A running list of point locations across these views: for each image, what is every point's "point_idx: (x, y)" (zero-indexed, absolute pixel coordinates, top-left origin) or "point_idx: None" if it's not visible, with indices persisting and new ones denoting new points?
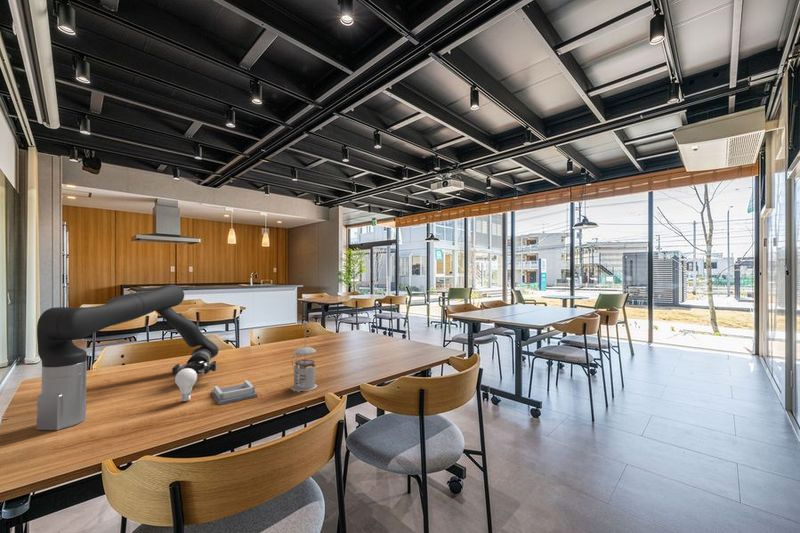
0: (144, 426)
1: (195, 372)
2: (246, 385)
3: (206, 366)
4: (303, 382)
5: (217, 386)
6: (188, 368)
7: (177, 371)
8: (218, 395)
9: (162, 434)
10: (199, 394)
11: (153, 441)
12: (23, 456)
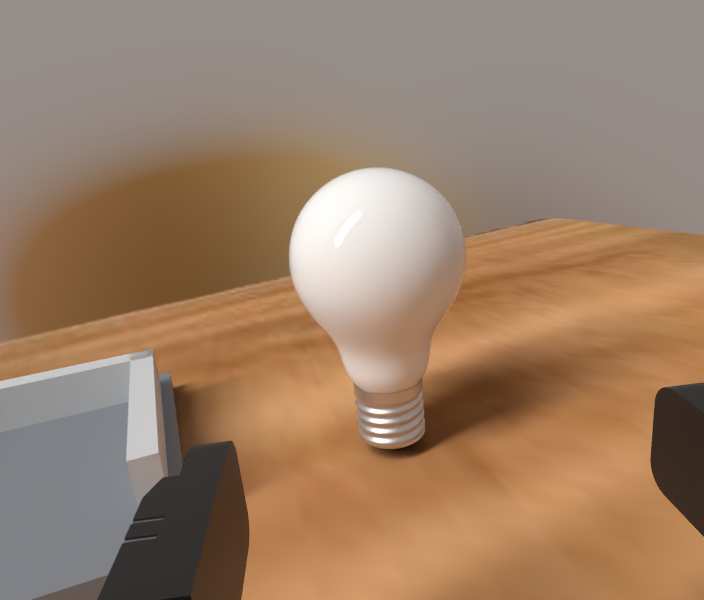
0: (460, 298)
1: (296, 220)
2: None
3: (168, 573)
4: None
5: (131, 443)
6: (352, 172)
7: (694, 384)
8: (158, 389)
9: None
10: (317, 557)
11: None
12: (685, 240)
